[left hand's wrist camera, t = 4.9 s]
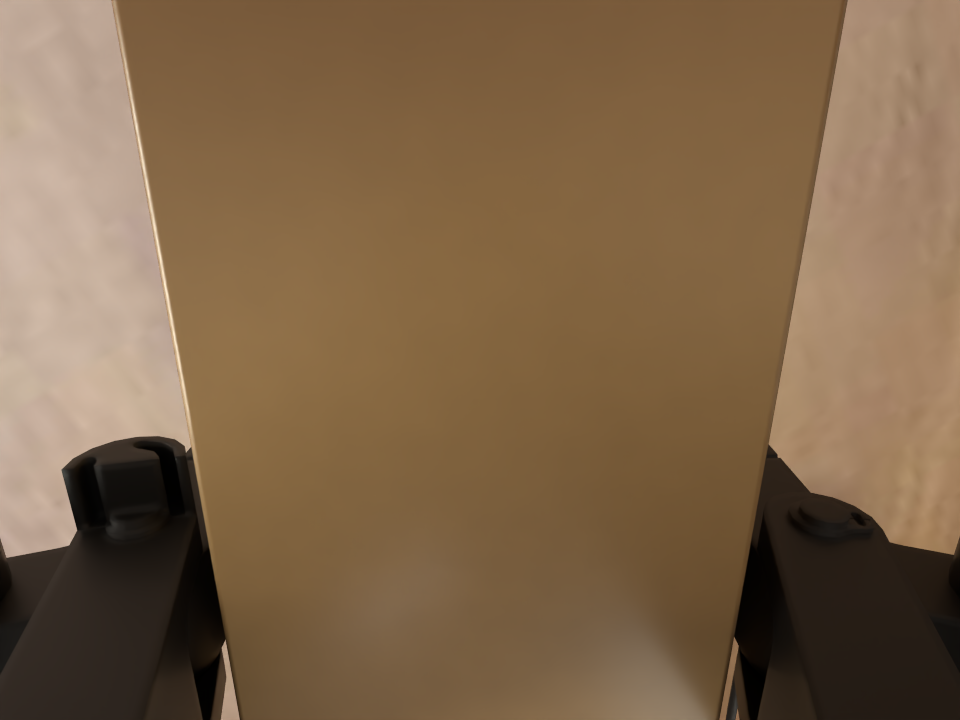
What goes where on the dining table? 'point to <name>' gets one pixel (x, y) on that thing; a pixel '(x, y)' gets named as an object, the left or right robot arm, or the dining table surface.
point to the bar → (479, 334)
